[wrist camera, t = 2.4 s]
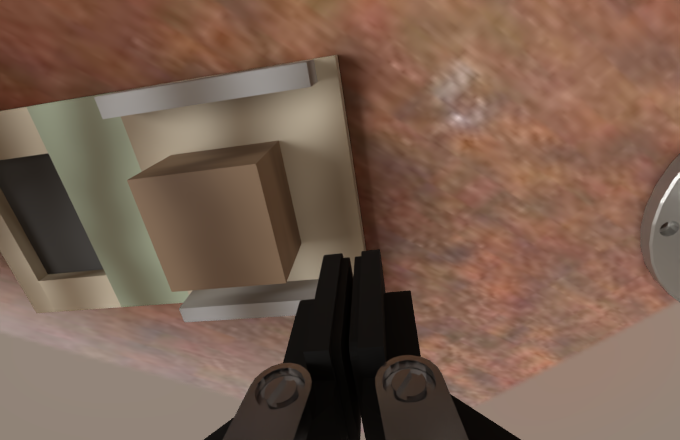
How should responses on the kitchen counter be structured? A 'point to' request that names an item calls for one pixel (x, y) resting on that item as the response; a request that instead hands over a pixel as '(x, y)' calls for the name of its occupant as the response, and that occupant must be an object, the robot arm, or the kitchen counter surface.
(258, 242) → the walnut block
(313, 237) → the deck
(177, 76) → the kitchen counter surface
